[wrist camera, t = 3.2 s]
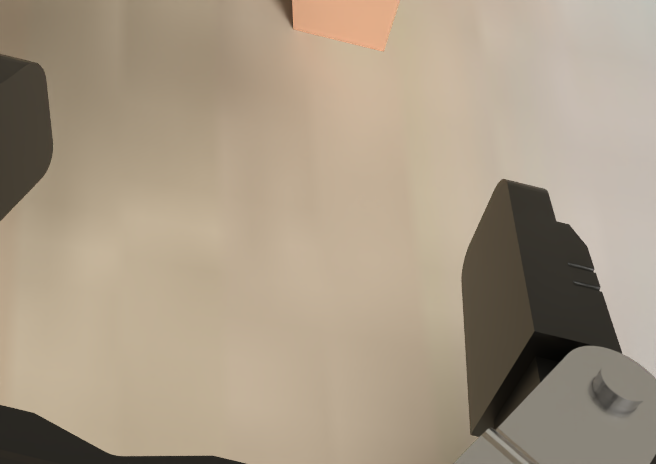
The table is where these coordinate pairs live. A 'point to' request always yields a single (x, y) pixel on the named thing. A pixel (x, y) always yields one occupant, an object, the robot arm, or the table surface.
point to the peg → (347, 20)
